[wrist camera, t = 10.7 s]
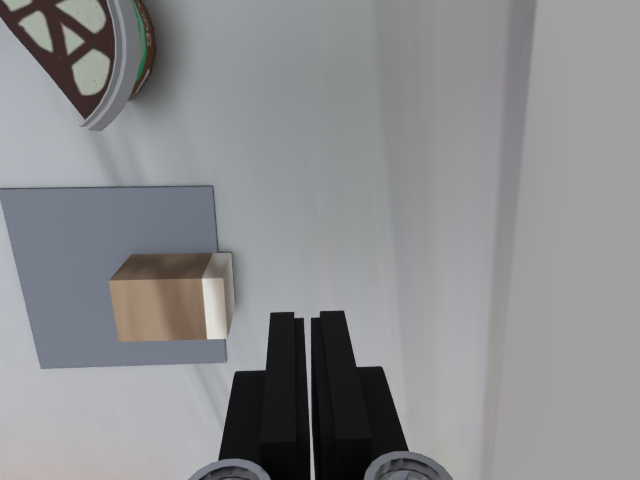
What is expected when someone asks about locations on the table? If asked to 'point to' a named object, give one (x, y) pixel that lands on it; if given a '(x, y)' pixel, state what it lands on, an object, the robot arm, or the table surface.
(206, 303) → the walnut block
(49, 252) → the mat
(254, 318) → the table surface
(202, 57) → the table surface
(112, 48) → the food container
